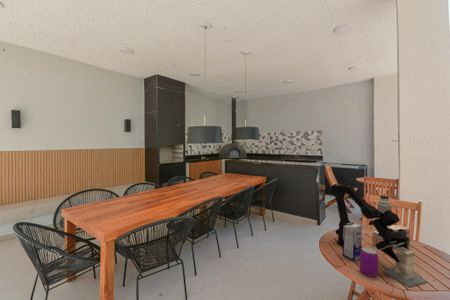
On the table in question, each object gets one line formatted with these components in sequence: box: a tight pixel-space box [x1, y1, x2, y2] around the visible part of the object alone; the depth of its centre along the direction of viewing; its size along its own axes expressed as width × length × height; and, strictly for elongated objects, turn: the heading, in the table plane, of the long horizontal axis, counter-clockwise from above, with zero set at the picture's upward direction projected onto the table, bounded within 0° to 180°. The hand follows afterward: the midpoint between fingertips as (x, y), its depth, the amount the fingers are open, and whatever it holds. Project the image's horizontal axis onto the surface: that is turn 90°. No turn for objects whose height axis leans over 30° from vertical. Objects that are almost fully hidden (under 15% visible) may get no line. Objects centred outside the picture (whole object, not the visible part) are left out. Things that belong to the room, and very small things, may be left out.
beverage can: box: [359, 246, 379, 277], centre depth 107 cm, size 8×8×12 cm
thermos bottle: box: [376, 195, 392, 219], centre depth 152 cm, size 8×8×28 cm
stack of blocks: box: [371, 224, 411, 249], centre depth 135 cm, size 21×6×12 cm, turn 97°
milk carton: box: [342, 222, 363, 262], centre depth 122 cm, size 7×7×20 cm
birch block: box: [394, 247, 415, 280], centre depth 104 cm, size 5×5×13 cm
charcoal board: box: [382, 267, 428, 288], centre depth 104 cm, size 12×12×1 cm
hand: (405, 260), depth 104 cm, fingers open, 9 cm apart
